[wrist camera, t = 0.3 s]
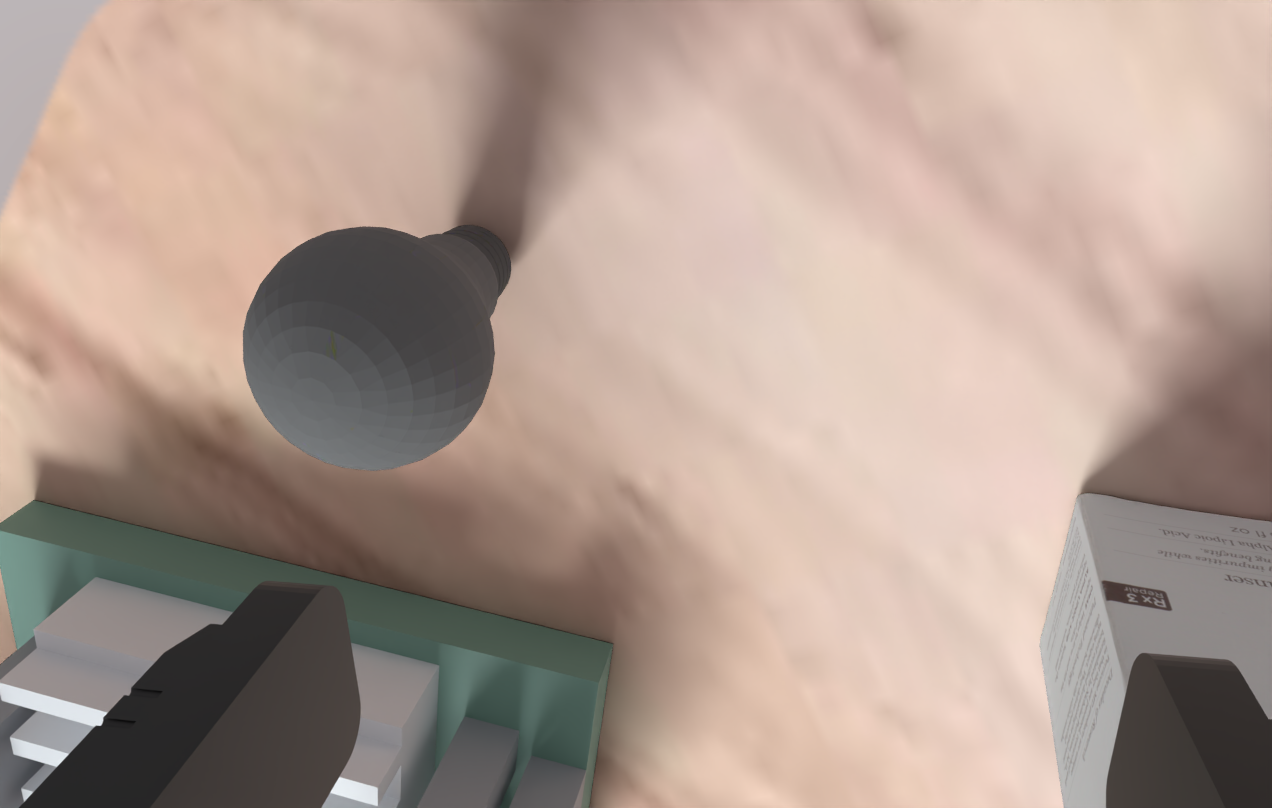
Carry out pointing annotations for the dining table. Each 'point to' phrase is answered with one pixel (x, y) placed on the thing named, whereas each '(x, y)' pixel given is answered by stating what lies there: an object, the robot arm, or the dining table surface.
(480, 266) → the light bulb
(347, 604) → the base
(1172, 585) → the skincare box
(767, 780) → the dining table surface
